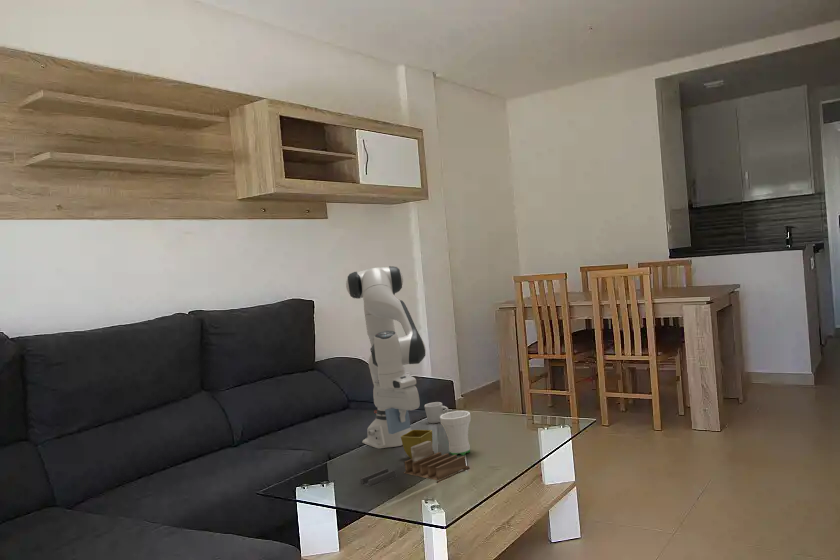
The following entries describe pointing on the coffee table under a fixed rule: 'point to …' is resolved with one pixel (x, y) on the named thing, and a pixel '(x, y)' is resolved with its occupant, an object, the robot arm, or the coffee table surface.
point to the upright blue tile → (396, 421)
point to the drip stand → (378, 477)
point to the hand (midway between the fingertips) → (399, 421)
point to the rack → (433, 463)
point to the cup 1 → (434, 411)
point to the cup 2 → (457, 431)
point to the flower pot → (415, 439)
